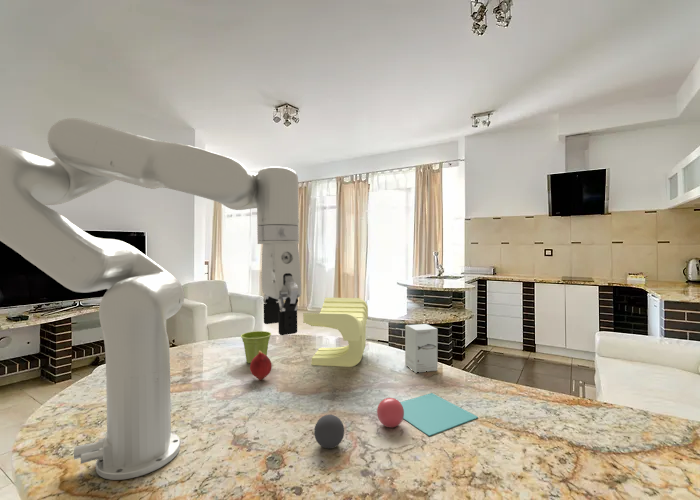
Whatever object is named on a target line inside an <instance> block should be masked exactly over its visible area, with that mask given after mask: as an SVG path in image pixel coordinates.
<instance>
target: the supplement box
mask: <svg viewBox="0 0 700 500" xmlns="http://www.w3.org/2000/svg"><path fill="white" fill-rule="evenodd" d="M404 327H405V329H404V331H405V334H404V336H405V337H404V340H405V341H404V342H405V343H404V344H405V345H404V346H405V348H404V349H405V350H404V352H405V353H404V354H405V355H404V360H405V361H404V366H406V365H407V366H408V367H409V368H411V369H412V370H413V371H414V372H413V371H412V370H411V369H410V370H411V371H412V372H413V373H414V374H418V373H417V372H419V373H425V372H426V371H427V372H436V371H438V362H439V360H438V353H439V351H438V340H439V339H438V338H439V337H438V332H439V330H438V328H437V327H435V326H432V325H430V324H428V323H421V324H417V323H416V324H406V325H405V326H404ZM407 366H406V367H407ZM408 367H407V368H408ZM409 368H408V369H409ZM427 372H426V373H427Z"/></svg>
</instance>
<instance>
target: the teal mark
mask: <svg viewBox="0 0 700 500" xmlns="http://www.w3.org/2000/svg"><path fill="white" fill-rule="evenodd" d="M399 402H400V403H401V404H402V406H403V409H404V418H403V420H404V421H406V422H408V423H409V424H410V425H411V426H413V427H414V428H416V429H418V430H419V431H420V432H422V433H424V434H425V435H426V436H428V437H432V436H434V435H436V434H440V433H442V432H445V431H448V430H450V429H452V428H455V427H458V426H461V425H464V424H466V423H468V422H472V421H473V420H476V419H479V416H477V415H475V414H473V413H471V412H470V411H468V410H465V409H464V408H462V407H460V406H458V405H456V404H454V403H452V402H450V401H448V400H446V399H444V398H442V397H441V396H438V395H437V394H435V393H433V392H430V393H427V394H424V395H421V396H416V397H414V398H410V399H407V400H404V401H399Z"/></svg>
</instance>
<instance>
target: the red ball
mask: <svg viewBox="0 0 700 500" xmlns="http://www.w3.org/2000/svg"><path fill="white" fill-rule="evenodd" d="M400 402H401V401H399V400H398V399H396V398H393V397H386V398H384V399H382V400H381V401H380V402H379V403H378V406H377V408H376V416H377V418H378V420H379V422H380V423H381V424H382V425H383V426H384V427H387V428H396V427H398V426H399V425H400V424H402V423H403V420H404V419H403V418H404V409H403V406H402V404H401V403H400Z"/></svg>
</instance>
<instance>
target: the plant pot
mask: <svg viewBox="0 0 700 500" xmlns="http://www.w3.org/2000/svg"><path fill="white" fill-rule="evenodd" d="M271 336H272V333H271V332H270V331H264V330H263V331H262V330H258V331H257V330H255V331H249V332H245V333H242V334H241V335H240V338H241V339H242V342H243V346H244V352H245V353H244V354H245V360H246V361H245V362H246V363H247V364H251V361H252V360H253V358H254V357H255V356H257V355H258V353H259V351H261V352H262V353H263V354H265V355H266V356H267V357H268V351H269V350H268V348H269V341H270V339H271V338H270V337H271Z"/></svg>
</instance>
